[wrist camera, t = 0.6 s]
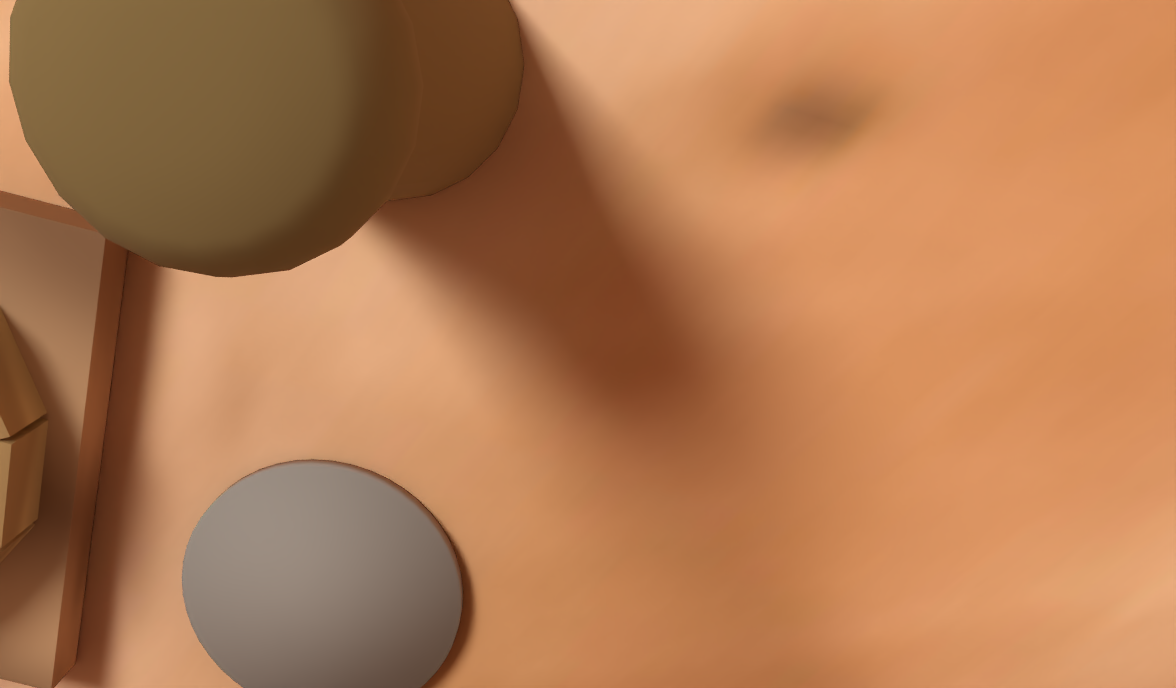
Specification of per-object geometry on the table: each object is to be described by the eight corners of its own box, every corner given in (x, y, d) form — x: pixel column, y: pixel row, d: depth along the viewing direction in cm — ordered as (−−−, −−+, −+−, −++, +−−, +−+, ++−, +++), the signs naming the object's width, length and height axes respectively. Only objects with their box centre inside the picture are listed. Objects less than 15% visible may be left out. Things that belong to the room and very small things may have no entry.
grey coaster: (432, 734, 28) (428, 744, 27) (171, 670, 28) (164, 679, 27) (490, 499, 26) (488, 506, 25) (210, 428, 26) (202, 434, 25)
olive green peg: (561, -30, 22) (492, -84, 12) (475, 237, 24) (346, 401, 13) (286, -132, 22) (-41, -280, 11) (219, 147, 24) (-119, 241, 13)
